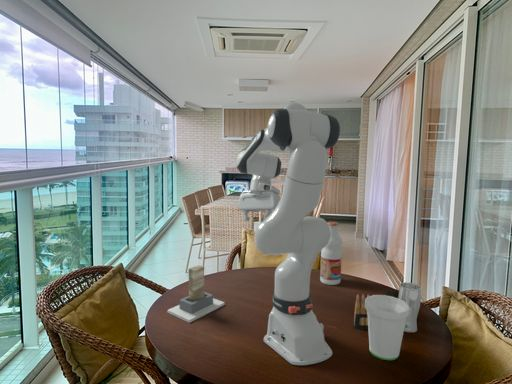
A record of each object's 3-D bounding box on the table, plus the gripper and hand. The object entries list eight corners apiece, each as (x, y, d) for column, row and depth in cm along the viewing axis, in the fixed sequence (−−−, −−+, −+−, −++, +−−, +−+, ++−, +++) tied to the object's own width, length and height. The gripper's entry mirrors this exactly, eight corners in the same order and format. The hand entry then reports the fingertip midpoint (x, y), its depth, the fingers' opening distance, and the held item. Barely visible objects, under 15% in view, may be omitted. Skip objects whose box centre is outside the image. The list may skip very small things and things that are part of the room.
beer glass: (405, 334, 111) (408, 291, 109) (391, 324, 117) (394, 283, 116) (423, 331, 113) (426, 289, 111) (408, 321, 119) (411, 281, 117)
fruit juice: (325, 276, 163) (327, 219, 160) (343, 281, 157) (346, 222, 154) (316, 282, 155) (318, 222, 152) (335, 287, 150) (337, 225, 146)
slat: (204, 304, 128) (204, 267, 126) (194, 309, 124) (194, 270, 122) (198, 302, 130) (198, 265, 128) (189, 307, 126) (188, 268, 124)
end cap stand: (224, 304, 130) (224, 293, 130) (189, 322, 116) (189, 310, 116) (203, 296, 138) (202, 286, 137) (167, 312, 123) (167, 301, 123)
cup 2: (411, 367, 94) (415, 315, 92) (365, 362, 96) (368, 311, 94) (400, 342, 106) (403, 296, 104) (359, 338, 108) (361, 293, 106)
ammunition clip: (354, 328, 114) (355, 294, 113) (353, 325, 116) (354, 292, 115) (386, 329, 114) (388, 295, 112) (384, 327, 116) (386, 293, 114)
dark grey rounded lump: (379, 310, 128) (380, 289, 127) (395, 307, 130) (396, 287, 129) (392, 319, 121) (393, 298, 120) (409, 316, 123) (410, 295, 122)
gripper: (236, 188, 148) (231, 219, 144) (275, 185, 136) (271, 218, 132) (245, 193, 153) (241, 222, 149) (283, 190, 141) (279, 222, 137)
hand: (255, 221), depth 140 cm, fingers open, 8 cm apart
